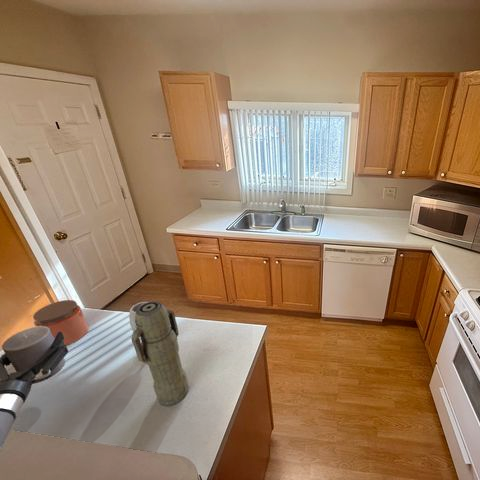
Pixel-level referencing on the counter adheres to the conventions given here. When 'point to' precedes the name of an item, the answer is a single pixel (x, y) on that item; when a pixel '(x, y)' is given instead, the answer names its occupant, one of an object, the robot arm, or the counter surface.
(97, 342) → the counter surface
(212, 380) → the counter surface
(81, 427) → the counter surface
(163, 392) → the thermos
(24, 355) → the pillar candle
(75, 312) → the jar
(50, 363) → the robot arm
